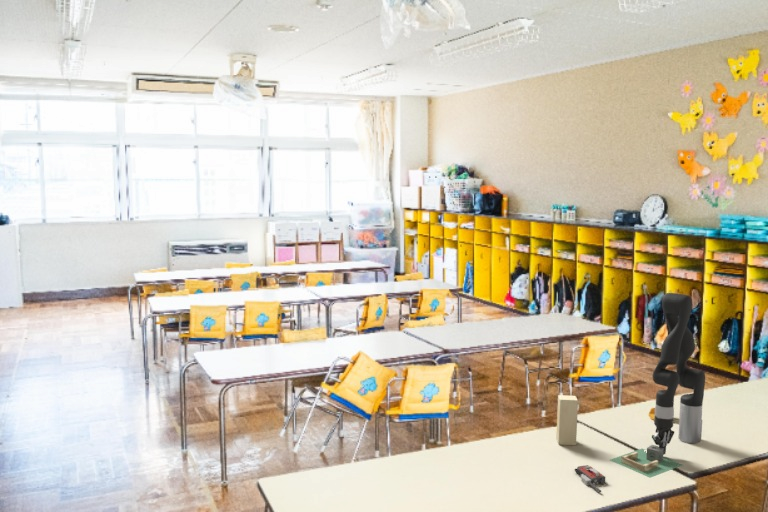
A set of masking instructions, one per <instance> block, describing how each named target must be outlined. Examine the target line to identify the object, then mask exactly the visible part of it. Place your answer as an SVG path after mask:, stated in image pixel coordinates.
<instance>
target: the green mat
mask: <svg viewBox="0 0 768 512" xmlns="http://www.w3.org/2000/svg"><path fill="white" fill-rule="evenodd" d="M644 450H646V448H645V449H644V448H639V449H637V450H634V451H631V452H628V453H625V454H622V455H619V456H617V457H614V458H611V459H609V461H611V462H613V463H616V464H618V465H619V466H622V467H623V468H627V469H629V470H632V471H633V472H636V473H638V474H641V475H642V476H645V477H647V478H652V477H656V476H658V475H661V474H663V473H666V472H669V471H670V470H673V469H675V468H678V467H681V466H684V464H683V463H680V462H677V461H675V460H673V459H670V458H668V457H665V456H663V460H661V461H660V462H659V463H658V467H656V468H653V469H651V470H648V471H645V472H642V471H640V470H637V469H635V468H633V467H630V466H628V465H626V464H623V463H621V457H623V456H626V455H628V454H631V453H634V452H637V453H638V458H637V459H634V460H633V461H635V462H638V463H640V464H642V465H644V464H647V463H650V462H653V461H650V460H647V459H646V457H647V453H646V451H645V452H644Z"/></svg>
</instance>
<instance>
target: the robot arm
mask: <svg viewBox="0 0 768 512" xmlns="http://www.w3.org/2000/svg"><path fill="white" fill-rule="evenodd" d="M661 303H662V304H661V305H662V307H661V308H662V311H663V314H664V318H665V321H666V323H667V327H668V332H669V334H668V335H667V336H666V337H665V338H664V340H663V343H662V346H661V351H660V352H661V353H660V357H659V360H658V362H657V365H656V366H655V368H654V371H653V372H652V380H653V383H654V384H655V385H659V386H663V387H667V388H666V389H660V390H658V391H656V395H655V407H654V408H655V418H654V420H653V422H654V423H653V424H654V426H655V428H656V429H655V433H654V434H652V435H651V439H652V440H653V442H654V445H655V446H658V447H661V448H664V451H663V456H664V455H666V454H667V453H666V452H667V451H666V450H667V446H668V445H670V443H671V441H672V439H673V437H674V435H675V431H674V430H672V429H673V427H674V420H675V419H674V416H675V414H674V413H675V411H674V410H675V408H674V405H675V403H674V402H675V395H676V392H677V388H678V387H679V386H680V387H682V388H684V389H689V390H693V392H692V393H686V394H682V395H681V396H680V399H679V400H680V401H679V420H678V438H677V439H678V440H679V441H681V442H683V443H688V444H699V443H701V440H702V434H703V418H702V417H703V402H704V397H705V396H704V394H705V387H706V374H705V371H703V370H701V369H697V368H691V367H688V365H687V362H688V360H690V358H691V357H692V355H693V354H694V352H695V350H696V344H695V338H694V337H695V336H694V334H693V333H692V331H691V330H690V329H689V328H688V323H689V320H690V317H691V313H692V310H693V300H692V297H691V296H690V295H688V294H682V293H675V292H667V293H665V294H664V295H663V297H662V301H661ZM669 365H670V366H671V365H672V366H675V368H676V371H674V370H671V369H666V368H667V367H668V366H669Z"/></svg>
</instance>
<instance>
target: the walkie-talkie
mask: <svg viewBox="0 0 768 512" xmlns="http://www.w3.org/2000/svg"><path fill="white" fill-rule="evenodd" d="M574 472H575V473H576V474H577V475H578V476H579V477H580V479H581V482H582V483H583V484H584V485H585V486H589V487H592V488H593V489H594V490H595V491H598V492H599V493H602V490H601V489H600V488H598V487H597V486H596V485H604V484H606V476H604V474H602V473H601V472H600V471H598V470H597V469H595V468H594V467H593V466H590V465H588V464H587V465H579V466H577V467H576V468H574Z"/></svg>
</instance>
